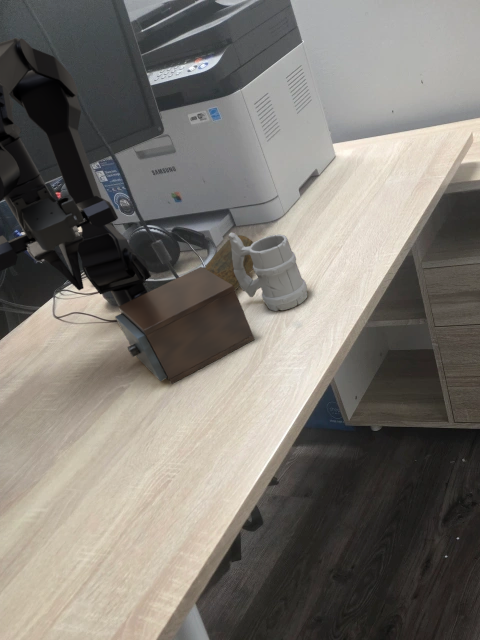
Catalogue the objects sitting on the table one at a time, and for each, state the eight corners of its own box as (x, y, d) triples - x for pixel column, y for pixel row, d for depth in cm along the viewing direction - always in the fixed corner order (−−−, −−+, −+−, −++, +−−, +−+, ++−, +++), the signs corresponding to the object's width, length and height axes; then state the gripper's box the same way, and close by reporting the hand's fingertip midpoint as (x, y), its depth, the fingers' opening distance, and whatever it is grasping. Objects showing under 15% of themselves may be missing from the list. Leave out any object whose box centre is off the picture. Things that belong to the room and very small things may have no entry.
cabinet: (171, 384, 97) (143, 330, 91) (145, 357, 106) (117, 306, 100) (254, 339, 102) (233, 285, 95) (222, 317, 110) (201, 266, 104)
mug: (299, 310, 105) (274, 238, 97) (237, 314, 110) (209, 245, 102) (316, 287, 110) (294, 216, 102) (256, 292, 115) (230, 224, 107)
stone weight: (232, 268, 125) (219, 234, 121) (265, 264, 123) (252, 229, 119) (201, 308, 115) (185, 272, 111) (236, 304, 113) (221, 267, 108)
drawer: (153, 385, 96) (129, 342, 92) (130, 360, 104) (107, 320, 99) (238, 340, 101) (220, 296, 96) (210, 319, 109) (192, 278, 104)
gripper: (-42, 219, 79) (32, 332, 90) (99, 161, 85) (153, 274, 95) (-52, 205, 87) (17, 311, 97) (78, 153, 92) (130, 258, 103)
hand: (80, 289), depth 98 cm, fingers closed
